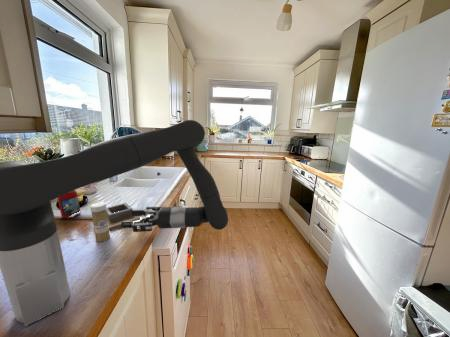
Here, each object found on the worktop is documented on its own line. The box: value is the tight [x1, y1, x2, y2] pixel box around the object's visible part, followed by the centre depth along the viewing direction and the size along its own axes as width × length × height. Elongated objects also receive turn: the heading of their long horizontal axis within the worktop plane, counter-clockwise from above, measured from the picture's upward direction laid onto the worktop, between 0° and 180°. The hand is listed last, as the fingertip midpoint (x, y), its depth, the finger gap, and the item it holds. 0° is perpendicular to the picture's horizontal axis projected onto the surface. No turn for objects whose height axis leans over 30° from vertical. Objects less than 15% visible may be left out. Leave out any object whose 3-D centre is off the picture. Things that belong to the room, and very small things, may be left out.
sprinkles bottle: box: [89, 201, 111, 243], centre depth 67 cm, size 5×5×13 cm
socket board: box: [106, 202, 142, 232], centre depth 83 cm, size 18×12×4 cm, turn 44°
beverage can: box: [57, 190, 81, 219], centre depth 84 cm, size 7×7×12 cm
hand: (127, 218), depth 67 cm, fingers open, 8 cm apart
